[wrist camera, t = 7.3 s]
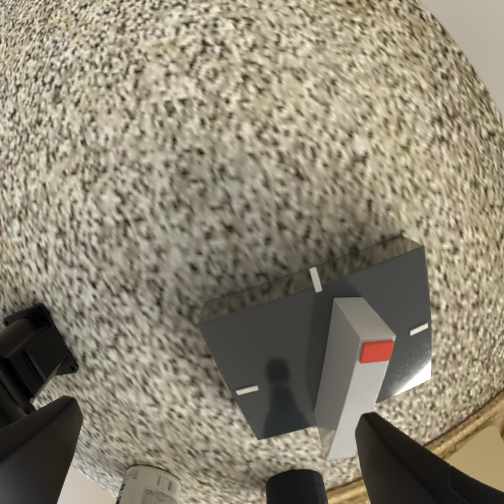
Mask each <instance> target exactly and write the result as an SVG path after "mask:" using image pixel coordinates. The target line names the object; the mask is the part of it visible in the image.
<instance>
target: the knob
mask: <svg viewBox="0 0 504 504" xmlns="http://www.w3.org/2000/svg"><path fill="white" fill-rule="evenodd" d="M395 338H396V335H395V334H394V333H393V331H392V330H391V329H390V328H389V327H388V326H387V324H386V323H385V322H384V321H383V320H382V319H381V317H380V316H379V315H378V314H377V313H376V312H375V310H374V309H373V308H372V307H371V306H370V305H369V304H368V302H367V301H366V300H365V299H364V298H363V297H347V298H334V300H333V307H332V314H331V321H330V328H329V335H328V341H327V347H326V353H325V359H324V364H323V370H322V375H321V380H320V385H319V390H318V395H317V400H316V405H315V410H314V416H315V419H316V423H317V427H318V431H319V435H320V439H321V443H322V446H323V450H324V454H325V458H326V460H335V459H342V458H348V457H353V456H354V455H355V453H356V450H357V445H356V440H355V429H356V427H357V424H358V422H359V419H360V416H361V415H362V414H363V413H368V412H372V411H373V408H374V405H375V403H376V400H377V397H378V394H379V391H380V388H381V385H382V382H383V379H384V376H385V373H386V369H387V366H388V363H389V360H390V357H391V354H392V350H393V347H394V343H395V342H394V341H395Z"/></svg>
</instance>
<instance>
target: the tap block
mask: <svg viewBox="0 0 504 504" xmlns="http://www.w3.org/2000/svg"><path fill="white" fill-rule="evenodd" d="M347 297H363V298H364V299H365V300H366V301H367V302H368V304H369V305H370V306H371V307H372V308H373V309H374V310H375V312H376V313H377V314H378V315H379V316H380V317H381V319H382V320H383V321H384V322H385V323H386V324H387V326H388V327H389V328H390V329H391V330H392V331H393V333H394V334H395V335H396V338H395V341H394V342H395V343H394V347H393V350H392V354H391V357H390V360H389V363H388V366H387V369H386V373H385V376H384V379H383V382H382V385H381V388H380V391H379V394H378V397H377V400H376V403H375V404H377V403H379V402H381V401H384V400H386V399H388V398H391V397H393V396H395V395H398V394H400V393H402V392H404V391H406V390H408V389H410V388H413V387H415V386H417V385H419V384H421V383H423V382H425V381H427V380H429V379H430V378H431V310H430V294H429V282H428V272H427V263H426V255H425V247H424V245H421V244H419V243H417V242H415V241H413V240H411V239H408V238H406V237H404V236H399V237H396V238H394V239H391V240H388V241H385V242H383V243H380V244H377V245H375V246H372V247H369V248H366V249H363V250H361V251H358V252H355V253H352V254H349V255H347V256H344V257H341V258H338V259H335V260H332V261H330V262H327V263H324V264H321V265H318V266H315V267H312V268H309V269H306V270H303V271H300V272H297V273H294V274H291V275H288V276H285V277H282V278H279V279H276V280H273V281H270V282H267V283H264V284H261V285H258V286H255V287H252V288H249V289H246V290H242V291H239V292H236V293H233V294H230V295H227V296H223V297H220V298H217V299H214V300H211V301H207V302H204V304H203V307H202V310H201V313H200V316H199V320H198V323H197V325H198V327H199V329H200V331H201V333H202V335H203V337H204V340H205V342H206V344H207V346H208V348H209V350H210V352H211V354H212V356H213V358H214V360H215V362H216V364H217V366H218V368H219V370H220V372H221V374H222V376H223V378H224V380H225V382H226V383H227V385H228V387H229V389H230V391H231V393H232V395H233V397H234V399H235V400H236V402H237V404H238V406H239V408H240V410H241V411H242V413H243V415H244V417H245V419H246V420H247V422H248V424H249V426H250V427H251V429H252V431H253V433H254V434H255V436H256V438H257V439H258V440H261V439H265V438H270V437H274V436H278V435H282V434H286V433H290V432H294V431H297V430H301V429H304V428H308V427H311V426H315V425H317V423H316V419H315V416H314V410H315V405H316V400H317V395H318V390H319V385H320V380H321V375H322V370H323V364H324V359H325V353H326V347H327V341H328V335H329V328H330V321H331V314H332V307H333V300H334V298H347Z"/></svg>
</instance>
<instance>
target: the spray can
mask: <svg viewBox="0 0 504 504" xmlns="http://www.w3.org/2000/svg"><path fill="white" fill-rule="evenodd" d="M180 496H181V483H180V482H179V481H178V479H177V478H176V477H175V476H173V475H172V474H170V473H169V472H167V471H164V470H161V469H158V468H155V467H150V466H145V465H136V466H132V467H130V468H129V469H128V470H127V472H126V473H125V476H124V479H123V482H122V486H121V489H120V491H119V495H118V498H117V501H116V504H179V502H180Z"/></svg>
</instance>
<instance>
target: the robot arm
mask: <svg viewBox="0 0 504 504" xmlns="http://www.w3.org/2000/svg"><path fill="white" fill-rule="evenodd" d="M40 308H41V309H40ZM41 310H42V311H41ZM3 321H4V324H5V326H6V328H5V329H4V330H3V331H1V332H0V504H57V502H58V498H59V496H60V493H61V490H62V487H63V484H64V481H65V478H66V475H67V473H68V470H69V467H70V465H71V462H72V459H73V456H74V453H75V449H76V445H77V441H78V437H79V433H80V430H81V426H82V422H83V415H82V412H81V410H80V407H79V405H78V402H77V400H76V399H75V398H74V397H70V396H66V395H64V396H62V397H60V398H58V399H56V400H55V401H53V402H51V403H49V404H47V405H46V406H44V407H42V408H40V409H38V410H36V409H35V408H34V406H33V405H32V403H33V402H34V400H35V399H36V398H37V396H38V395H39V394H40V393H41V391H42V390H43V389H44V387H45V386H46V385H47V384H48V382H49V381H50V380H51V379H52V378H53V376H57V375H64V374H70V373H76V372H77V371H78V369H79V366H78V364H77V362H76V361H75V359H74V357H73V356H72V354H71V352H70V351H69V349H68V347H67V346H66V344H65V342H64V340H63V339H62V337H61V335H60V333H59V331H58V329H57V328H56V326H55V324H54V322H53V320H52V318H51V316H50V314H49V312H48V310H47V308H46V307H45V305H44V304H42V303H39V304H36V305H34V306H31V307H29V308H26V309H24V310H21V311H19V312H16V313H14V314H11V315H9V316H7V317H5V318H4V320H3ZM355 440H356V445H357V450H358V456H359V461H360V467H361V472H362V476H363V480H364V483H365V486H366V489H367V492H368V496H369V499H370V502H371V504H504V492H502V491H500V490H497V489H495V488H493V487H490V486H488V485H486V484H484V483H481V482H480V481H478V480H476V479H474V478H472V477H469V476H468V475H466V474H465V473H463V472H461V471H459V470H458V469H456V468H455V467H454V466H450V464H449V463H447V462H446V461H444V460H443V459H441V458H440V457H438V456H437V455H435V454H434V453H432V452H431V451H429V450H428V449H426V448H425V447H423V446H422V445H421V444H419V443H418V442H416V441H415V440H413V439H412V438H410V437H409V436H408V435H406V434H405V433H403V432H402V431H400V430H399V429H398V428H396V427H395V426H393V425H392V424H391V423H389V422H388V421H387V420H385V419H384V418H382V417H381V416H380V415H378V414H377V413H375V412H368V413H363V414H362V415H361V416H360V419H359V422H358V424H357V427H356V429H355Z"/></svg>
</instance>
